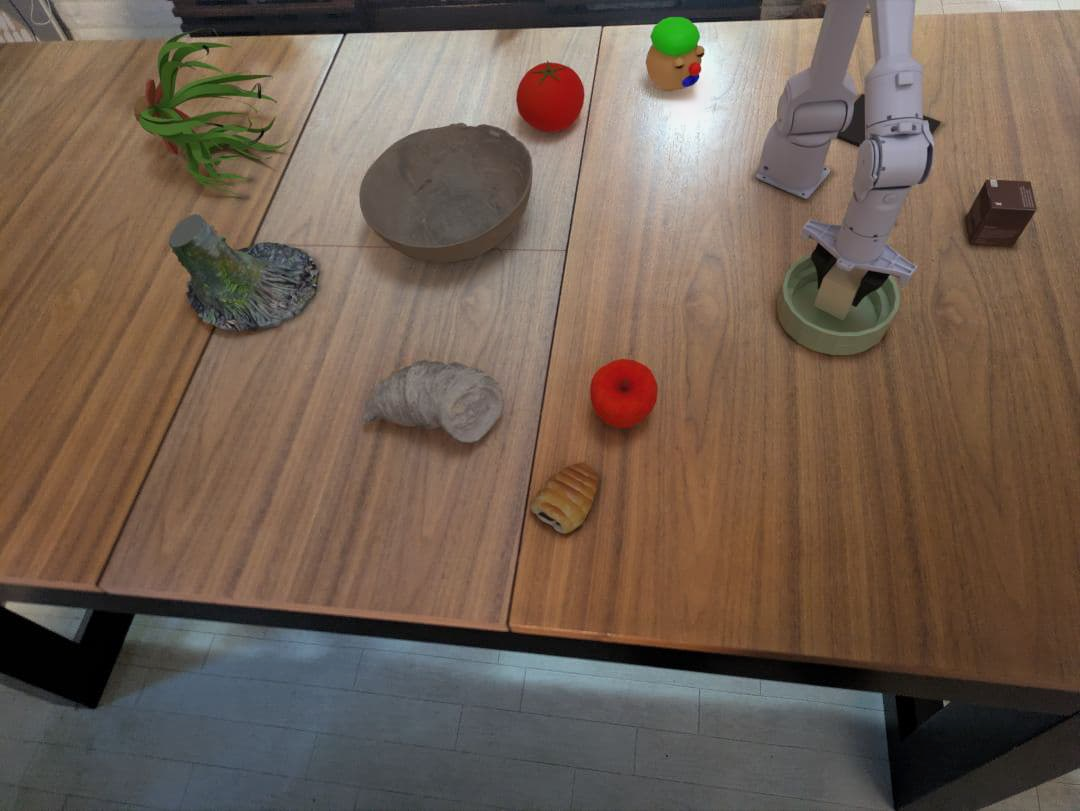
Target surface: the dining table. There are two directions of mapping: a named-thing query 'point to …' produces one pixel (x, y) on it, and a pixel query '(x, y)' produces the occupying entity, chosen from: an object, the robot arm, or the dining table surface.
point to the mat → (857, 124)
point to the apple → (623, 393)
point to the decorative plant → (178, 124)
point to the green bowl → (825, 329)
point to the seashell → (438, 399)
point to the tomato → (550, 97)
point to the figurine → (674, 54)
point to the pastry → (567, 497)
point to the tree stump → (242, 278)
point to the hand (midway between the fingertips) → (839, 293)
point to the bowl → (448, 191)
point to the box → (1000, 212)
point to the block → (839, 291)
